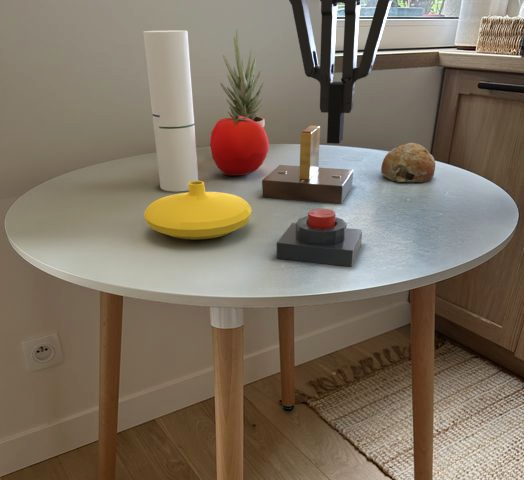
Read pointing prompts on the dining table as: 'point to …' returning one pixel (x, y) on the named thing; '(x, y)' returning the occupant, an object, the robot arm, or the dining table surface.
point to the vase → (198, 213)
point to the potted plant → (243, 87)
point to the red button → (321, 218)
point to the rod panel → (308, 184)
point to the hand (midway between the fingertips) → (334, 140)
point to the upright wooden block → (309, 152)
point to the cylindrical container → (172, 107)
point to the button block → (320, 243)
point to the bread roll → (408, 164)
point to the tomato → (238, 145)
